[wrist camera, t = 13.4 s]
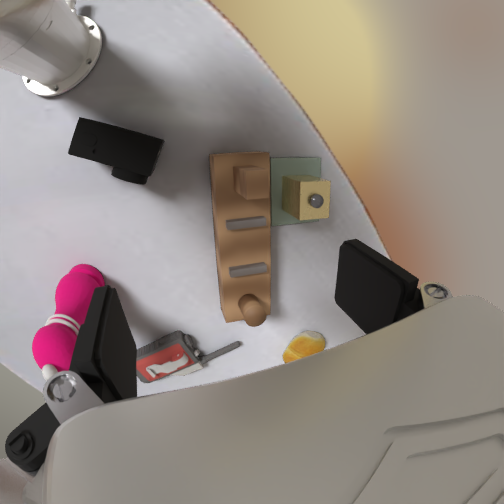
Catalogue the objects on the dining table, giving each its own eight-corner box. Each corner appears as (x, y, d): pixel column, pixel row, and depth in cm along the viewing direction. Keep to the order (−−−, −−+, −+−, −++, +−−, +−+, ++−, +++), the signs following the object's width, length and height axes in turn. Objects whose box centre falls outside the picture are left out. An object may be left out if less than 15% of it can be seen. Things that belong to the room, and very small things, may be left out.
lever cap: (282, 175, 39) (302, 182, 33) (309, 175, 40) (332, 181, 34) (281, 209, 41) (301, 221, 35) (308, 207, 42) (331, 219, 36)
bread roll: (275, 361, 53) (282, 374, 50) (296, 327, 51) (304, 339, 48) (307, 364, 57) (314, 376, 53) (327, 332, 54) (337, 344, 51)
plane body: (209, 154, 35) (223, 158, 26) (259, 151, 37) (288, 155, 28) (221, 308, 45) (235, 348, 36) (262, 301, 46) (284, 337, 37)
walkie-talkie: (148, 382, 47) (239, 342, 49) (148, 399, 43) (246, 358, 45) (120, 354, 43) (219, 308, 45) (119, 371, 39) (224, 323, 41)
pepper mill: (104, 259, 36) (67, 352, 18) (111, 302, 39) (90, 404, 21) (61, 261, 34) (6, 348, 16) (71, 303, 37) (34, 399, 19)
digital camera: (81, 159, 30) (63, 164, 24) (94, 121, 29) (78, 116, 23) (150, 179, 34) (146, 187, 28) (164, 140, 33) (163, 139, 27)
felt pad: (269, 158, 38) (270, 158, 37) (319, 157, 40) (320, 157, 39) (270, 225, 42) (271, 226, 41) (317, 220, 44) (319, 220, 43)
